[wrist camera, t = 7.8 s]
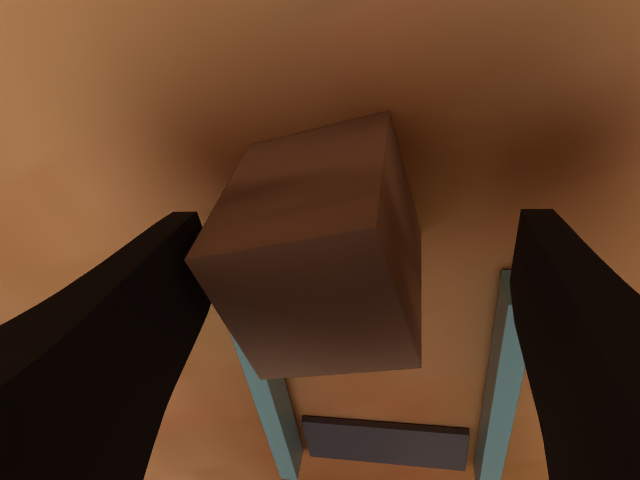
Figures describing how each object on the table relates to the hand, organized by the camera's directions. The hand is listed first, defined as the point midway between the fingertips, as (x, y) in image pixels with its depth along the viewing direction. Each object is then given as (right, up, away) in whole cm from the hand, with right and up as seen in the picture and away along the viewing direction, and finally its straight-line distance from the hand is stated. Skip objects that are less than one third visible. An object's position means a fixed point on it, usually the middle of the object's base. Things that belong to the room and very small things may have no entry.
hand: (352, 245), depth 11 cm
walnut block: (0, +2, +3) cm, 3 cm away
